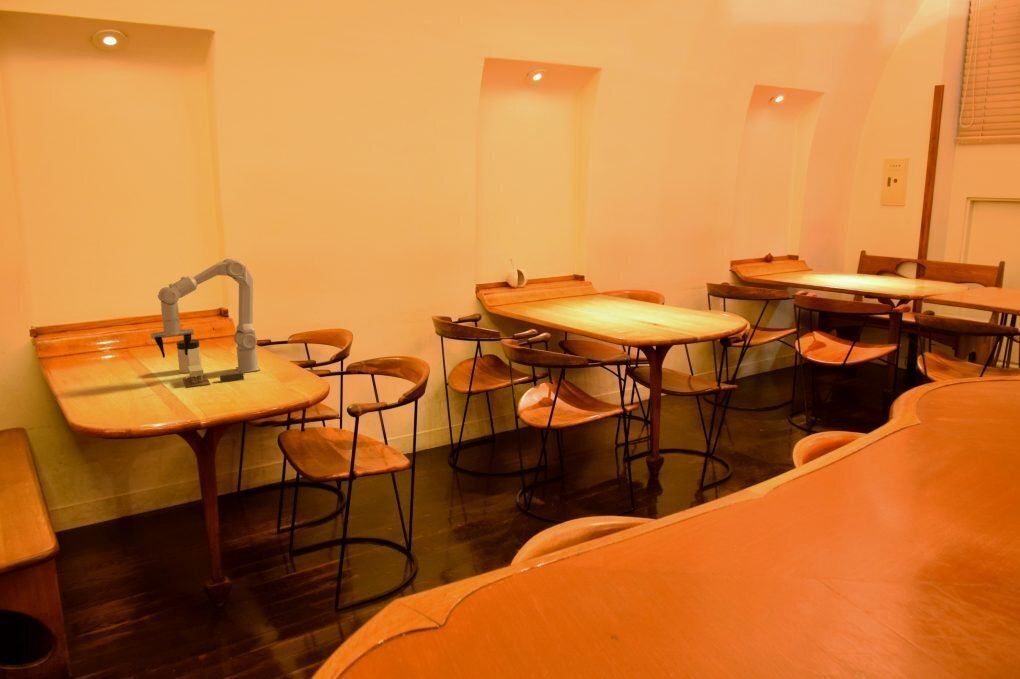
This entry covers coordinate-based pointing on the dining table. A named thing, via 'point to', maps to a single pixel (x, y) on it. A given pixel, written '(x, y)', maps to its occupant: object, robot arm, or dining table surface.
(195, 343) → the jar
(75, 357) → the dining table surface
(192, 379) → the peg base
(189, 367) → the shelf board
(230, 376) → the block
